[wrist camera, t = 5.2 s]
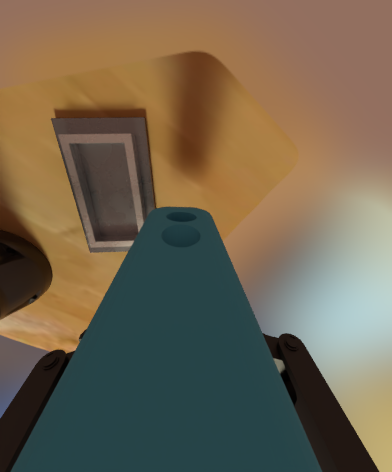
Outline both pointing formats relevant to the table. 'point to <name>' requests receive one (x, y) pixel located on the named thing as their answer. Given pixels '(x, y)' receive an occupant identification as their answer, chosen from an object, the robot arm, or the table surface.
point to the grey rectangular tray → (108, 177)
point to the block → (171, 370)
